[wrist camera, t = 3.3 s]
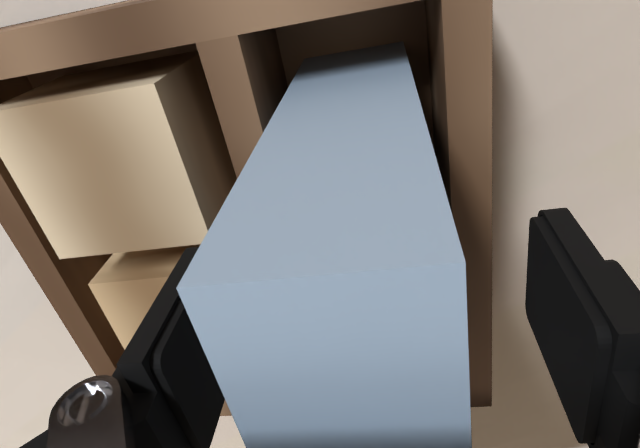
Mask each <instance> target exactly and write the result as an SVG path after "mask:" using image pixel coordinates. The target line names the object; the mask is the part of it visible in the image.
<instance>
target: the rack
mask: <svg viewBox="0 0 640 448" xmlns="http://www.w3.org/2000/svg"><path fill="white" fill-rule="evenodd" d="M402 41H403V43H404V47H405V50H406V54H407V57H408V61H409V64H410V68H411V71H412V75H413V78H414V82H415V85H416V89H417V92H418V96H419V99H420V103H421V107H422V110H423V114H424V117H425V121H426V124H427V128H428V131H429V135H430V138H431V142H432V145H433V149H434V152H435V156H436V159H437V163H438V167H439V170H440V174H441V177H442V181H443V184H444V188H445V191H446V195H447V198H448V202H449V205H450V209H451V212H452V216H453V219H454V223H455V227H456V230H457V234H458V237H459V241H460V244H461V248H462V251H463V255H464V258H465V262H466V289H467V319H468V349H469V380H470V407H484V406H492V0H128V1H123V2H118V3H114V4H109V5H104V6H100V7H95V8H90V9H86V10H81V11H76V12H72V13H67V14H62V15H58V16H53V17H48V18H44V19H39V20H34V21H29V22H25V23H20V24H15V25H11V26H6V27H1V28H0V104H1V103H3V102H5V101H8V100H10V99H12V98H14V97H17V96H19V95H21V94H23V93H25V92H28V91H30V90H32V89H34V88H36V87H39V86H41V85H43V84H45V83H48V82H50V81H52V80H54V79H56V78H59V77H61V76H63V75H68V74H73V73H78V72H84V71H89V70H94V69H100V68H105V67H110V66H116V65H121V64H126V63H132V62H137V61H142V60H148V59H153V58H159V57H164V56H169V55H175V54H180V53H185V52H191V51H196V50H198V53H199V56H200V60H201V63H202V66H203V69H204V73H205V76H206V79H207V82H208V86H209V89H210V92H211V95H212V99H213V102H214V105H215V108H216V112H217V115H218V118H219V121H220V125H221V128H222V131H223V135H224V138H225V141H226V144H227V148H228V151H229V154H230V157H231V161H232V164H233V167H234V170H235V174H236V177H237V179H238V177H239V175H240V173H241V171H242V170H243V168H244V166H245V164H246V162H247V161H248V159H249V157H250V155H251V153H252V152H253V150H254V148H255V146H256V145H257V143H258V141H259V139H260V137H261V136H262V134H263V132H264V130H265V128H266V127H267V125H268V123H269V121H270V119H271V118H272V116H273V114H274V112H275V111H276V109H277V107H278V105H279V103H280V102H281V100H282V98H283V96H284V94H285V93H286V91H287V89H288V87H289V85H290V84H291V82H292V80H293V78H294V77H295V75H296V73H297V71H298V69H299V68H300V66H301V64H302V62H303V60H304V59H305V58H311V57H316V56H322V55H328V54H334V53H339V52H345V51H351V50H356V49H362V48H368V47H373V46H379V45H385V44H390V43H396V42H402ZM0 223H1V225H2V226H3V228H4V229H5V231H6V233H7V234H8V236H9V237H10V239H11V241H12V242H13V244H14V245H15V247H16V249H17V250H18V252H19V253H20V255H21V257H22V258H23V260H24V261H25V263H26V264H27V266H28V268H29V269H30V271H31V272H32V274H33V276H34V277H35V279H36V280H37V282H38V284H39V285H40V287H41V288H42V290H43V292H44V293H45V295H46V296H47V298H48V300H49V301H50V303H51V304H52V306H53V308H54V309H55V311H56V312H57V314H58V315H59V317H60V319H61V320H62V322H63V323H64V325H65V327H66V328H67V330H68V331H69V333H70V335H71V336H72V338H73V339H74V341H75V343H76V344H77V346H78V347H79V349H80V351H81V352H82V354H83V355H84V357H85V358H86V360H87V362H88V363H89V365H90V366H91V368H92V370H93V371H94V373H95V374H96V376H98V375H108V376H112V375H113V373H114V371H115V369H116V368H117V365H116V364H117V362H118V360H119V359H120V357H121V355H122V354H123V352H124V348H123V346H122V344H121V343H120V341H119V339H118V337H117V335H116V334H115V332H114V330H113V328H112V327H111V325H110V323H109V321H108V319H107V318H106V316H105V314H104V312H103V310H102V309H101V307H100V305H99V303H98V302H97V300H96V298H95V296H94V294H93V293H92V291H91V289H90V287H89V285H88V284H89V282H90V281H91V280H92V279H93V278H94V276H95V275H96V274H97V273H98V271H99V270H100V269H101V268H102V267H103V265H104V264H105V263H106V262H107V260H108V259H109V258H110V257H111V256H112V254H103V255H94V256H85V257H75V258H66V259H59V257H58V256H57V254H56V252H55V250H54V249H53V247H52V245H51V244H50V242H49V240H48V238H47V237H46V235H45V233H44V231H43V230H42V228H41V226H40V225H39V223H38V221H37V219H36V218H35V216H34V214H33V212H32V211H31V209H30V207H29V206H28V204H27V202H26V200H25V199H24V197H23V195H22V193H21V192H20V190H19V188H18V187H17V185H16V183H15V181H14V180H13V178H12V176H11V174H10V173H9V171H8V169H7V168H6V166H5V164H4V162H3V161H2V159H1V157H0ZM231 415H232V414H231V412H230V409H229V407H228V405H227V403H226V400H225V401H224V404H223V407H222V410H221V414H220V416H231Z"/></svg>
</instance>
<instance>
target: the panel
mask: <svg viewBox="0 0 640 448" xmlns="http://www.w3.org/2000/svg"><path fill="white" fill-rule="evenodd" d="M176 289H177V291H178V293H179V296H180V298H181V300H182V302H183V305H184V307H185V309H186V311H187V314H188V316H189V318H190V321H191V323H192V325H193V327H194V330H195V332H196V334H197V337H198V339H199V341H200V343H201V346H202V348H203V350H204V352H205V355H206V357H207V359H208V362H209V364H210V366H211V368H212V371H213V373H214V375H215V378H216V380H217V382H218V384H219V387H220V389H221V391H222V393H223V396H224V398H225V400H226V403H227V405H228V407H229V409H230V412H231V414H232V416H233V419H234V421H235V423H236V425H237V428H238V430H239V432H240V434H241V437H242V439H243V441H244V444H245V446H246V448H472V440H471V410H470V380H469V349H468V319H467V289H466V262H465V258H464V255H463V251H462V248H461V244H460V241H459V237H458V234H457V230H456V227H455V223H454V219H453V216H452V212H451V209H450V205H449V202H448V198H447V195H446V191H445V188H444V184H443V181H442V177H441V174H440V170H439V167H438V163H437V159H436V156H435V152H434V149H433V145H432V142H431V138H430V135H429V131H428V128H427V124H426V121H425V117H424V114H423V110H422V107H421V103H420V99H419V96H418V92H417V89H416V85H415V82H414V78H413V75H412V71H411V68H410V64H409V61H408V57H407V54H406V50H405V47H404V43H403V41H402V42H396V43H390V44H385V45H379V46H373V47H368V48H362V49H356V50H351V51H345V52H339V53H334V54H328V55H322V56H316V57H311V58H305V59H304V60H303V62H302V64H301V66H300V68H299V69H298V71H297V73H296V75H295V77H294V78H293V80H292V82H291V84H290V85H289V87H288V89H287V91H286V93H285V94H284V96H283V98H282V100H281V102H280V103H279V105H278V107H277V109H276V111H275V112H274V114H273V116H272V118H271V119H270V121H269V123H268V125H267V127H266V128H265V130H264V132H263V134H262V136H261V137H260V139H259V141H258V143H257V145H256V146H255V148H254V150H253V152H252V153H251V155H250V157H249V159H248V161H247V162H246V164H245V166H244V168H243V170H242V171H241V173H240V175H239V177H238V179H237V180H236V182H235V184H234V186H233V187H232V189H231V191H230V193H229V195H228V196H227V198H226V200H225V202H224V204H223V205H222V207H221V209H220V211H219V213H218V214H217V216H216V218H215V220H214V221H213V223H212V225H211V227H210V229H209V230H208V232H207V234H206V236H205V238H204V239H203V241H202V243H201V245H200V247H199V248H198V250H197V252H196V254H195V255H194V257H193V259H192V261H191V263H190V264H189V266H188V268H187V270H186V272H185V273H184V275H183V277H182V279H181V280H180V282H179V284H178V286H177V288H176Z"/></svg>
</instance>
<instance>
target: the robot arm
mask: <svg viewBox="0 0 640 448" xmlns="http://www.w3.org/2000/svg"><path fill="white" fill-rule="evenodd" d="M199 247H200V246H199ZM199 247H190V248H186V249H185V250H184V252H183V254H182V255H181V257H180V259H179V260H178V262H177V264H176V265H175V267H174V269H173V270H172V272H171V274H170V275H169V277H168V279H167V280H166V282H165V284H164V285H163V287H162V289H161V290H160V292H159V294H158V295H157V297H156V299H155V300H154V302H153V304H152V305H151V307H150V309H149V310H148V312H147V314H146V315H145V317H144V319H143V320H142V322H141V324H140V325H139V327H138V329H137V330H136V332H135V334H134V335H133V337H132V339H131V340H130V342H129V344H128V345H127V347H126V349H125V350H124V352H123V354H122V355H121V357H120V359H119V360H118V362H117V364H116V365H117V368H116V369H115V371H114V373H113V375H112V376H108V375H98V376H93V377H90V378H87V379H85V380H83V381H81V382H79V383H77V384H76V385H74V386H73V387H71V388H70V389H69V390H68V391H66V392H65V393H64V394H63V395H62V396H61V397H60V398H59V399H58V401H57V402H56V404H55V405H54V407H53V408H52V410H51V414H50V417H49V426H48V430H46V431H45V432H43V433H42V434H40V435H39V436H37V437H35V438H34V439H32V440H31V441H29V442H28V443H26V444H24V445H23V446H21V447H20V448H209V447H210V445H211V442H212V439H213V436H214V432H215V429H216V426H217V423H218V420H219V417H220V414H221V410H222V407H223V404H224V401H225V398H224V396H223V393H222V391H221V389H220V387H219V384H218V382H217V380H216V378H215V375H214V373H213V371H212V368H211V366H210V364H209V362H208V359H207V357H206V355H205V352H204V350H203V348H202V346H201V343H200V341H199V339H198V337H197V334H196V332H195V330H194V327H193V325H192V323H191V321H190V318H189V316H188V314H187V311H186V309H185V307H184V305H183V302H182V300H181V298H180V296H179V293H178V291H177V289H176V288H177V286H178V284H179V282H180V280H181V279H182V277H183V275H184V273H185V272H186V270H187V268H188V266H189V264H190V263H191V261H192V259H193V257H194V255H195V254H196V252H197V250H198V248H199ZM525 304H526V314H527V318H528V321H529V323H530V325H531V328H532V330H533V333H534V335H535V338H536V340H537V343H538V345H539V348H540V350H541V353H542V355H543V358H544V360H545V363H546V365H547V368H548V370H549V373H550V375H551V377H552V380H553V382H554V385H555V387H556V390H557V392H558V395H559V397H560V400H561V402H562V405H563V407H564V410H565V412H566V415H567V417H568V420H569V422H570V424H571V427H572V429H573V432H574V434H575V437H576V439H577V441H578V442H579V443H580V444H581V443H587V444H588V446H589V448H640V291H639V289H638V288H637V287H636V285H635V284H634V283H633V281H632V280H631V279H630V277H629V276H628V275H627V273H626V272H625V271H624V269H623V268H622V267H621V265H620V264H619V263H618V262H617V261H615V260H604V259H603V257H602V256H601V255H600V253H599V252H598V250H597V249H596V248H595V246H594V245H593V243H592V242H591V241H590V239H589V238H588V236H587V235H586V234H585V232H584V231H583V229H582V228H581V227H580V225H579V224H578V222H577V221H576V220H575V218H574V217H573V215H572V214H571V213H570V211H569V210H568V209H567V208H558V209H549V210H540V211H539V213H538V217H532V218H531V219H530V224H529V243H528V263H527V283H526V303H525Z"/></svg>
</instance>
